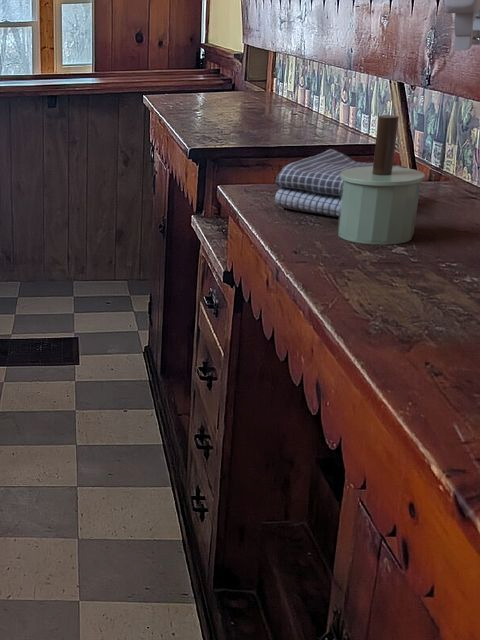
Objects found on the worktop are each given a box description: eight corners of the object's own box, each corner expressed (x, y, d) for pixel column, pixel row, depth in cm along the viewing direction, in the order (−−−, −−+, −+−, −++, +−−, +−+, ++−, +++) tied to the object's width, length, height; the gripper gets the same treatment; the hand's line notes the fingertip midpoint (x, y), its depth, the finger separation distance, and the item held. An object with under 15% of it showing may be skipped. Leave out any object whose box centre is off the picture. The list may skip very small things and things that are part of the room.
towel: (269, 211, 144) (272, 163, 141) (323, 190, 155) (327, 146, 152) (357, 224, 134) (363, 173, 131) (408, 201, 145) (415, 154, 142)
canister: (420, 231, 128) (428, 173, 125) (401, 248, 121) (409, 187, 118) (350, 223, 134) (356, 168, 131) (328, 239, 127) (333, 181, 123)
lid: (432, 177, 125) (441, 112, 122) (412, 193, 117) (421, 123, 113) (353, 172, 132) (359, 109, 128) (328, 186, 124) (334, 120, 120)
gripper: (499, -74, 100) (480, 53, 105) (528, -70, 114) (510, 41, 120) (439, -68, 103) (424, 54, 109) (475, -66, 118) (460, 42, 123)
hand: (470, 47), depth 114 cm, fingers open, 8 cm apart
